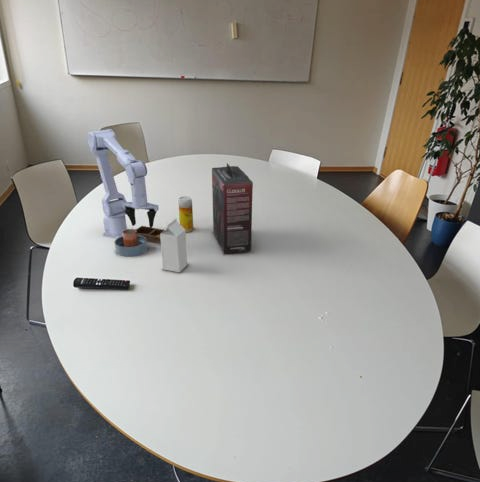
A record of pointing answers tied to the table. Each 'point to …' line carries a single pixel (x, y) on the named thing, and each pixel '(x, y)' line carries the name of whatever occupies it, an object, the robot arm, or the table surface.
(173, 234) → the milk carton
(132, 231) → the cup
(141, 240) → the bowl
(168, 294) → the table surface
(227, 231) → the headset box
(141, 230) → the box
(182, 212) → the beer can
